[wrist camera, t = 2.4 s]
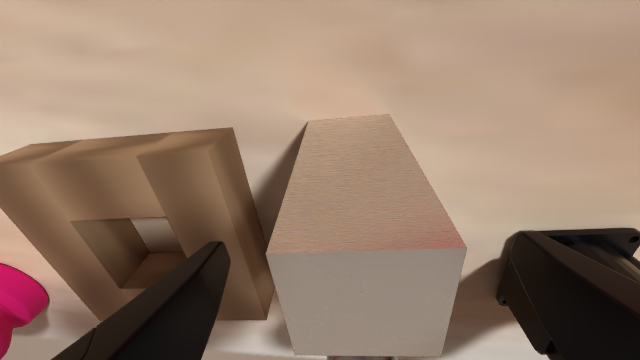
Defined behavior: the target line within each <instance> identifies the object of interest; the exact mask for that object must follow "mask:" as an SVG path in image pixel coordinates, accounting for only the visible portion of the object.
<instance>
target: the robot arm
mask: <svg viewBox="0 0 640 360" xmlns="http://www.w3.org/2000/svg"><path fill="white" fill-rule="evenodd" d="M639 246H640V232H639V231H638V230H636V229H635V228H621V229H592V230H564V231H532V230H531V231H519V232H517V233H516V235H515V238H514V241H513V244H512V247H511V249H510V258H509V261H508V264H507V267H506V270H505V272H504V275H503V278H502V281H501V284H500V286H499V289H498V292H497V295H496V299H497V301H498V303H499V304H500V305H502V306H509V308H510V310H511V311H512V313H513V315H514V316H515V318H516V319H517V321H518V323H519V324H520V326H521V328H522V329H523V331H524V333H525V334H526V336H527V338H528V339H529V341H530V343H531V344H532V346H533V347H534V349H535V350H536V351H537V352H538V353H539V354H541V355H547V356H548V358H549V359H550V360H640V261H638V260H637V259H636V258H634V257H633V254H634V253H635V251H636V250H637V248H638V247H639ZM230 265H231V260H230V256H229V253H228V251H227V248H226V246H225V243H224V242H223V241H210V242H208V243H207V244H206V245H204V246H203V247H202V248H200V249H199V250H198V251H196V252H195V253H194V254H192V255H191V256H190V257H188V258H187V259H186V260H184V261H183V262H182V263H180V264H179V265H178V266H176V267H175V268H173V269H172V270H171V271H169V272H168V273H167V274H165V275H164V276H163V277H161V278H160V279H159V280H157V281H156V282H155V283H153V284H152V285H151V286H149V287H148V288H147V289H145V290H144V291H143V292H141V293H140V294H139V295H137V296H136V297H135V298H133V299H132V300H131V301H129V302H128V303H127V304H125V305H124V306H123V307H121V308H120V309H119V310H117V311H116V312H115V313H113V314H112V315H111V316H109V317H108V318H107V319H105V320H104V321H103V322H101V323H100V324H99V325H97V327H96V328H93V329H92V330H90V331H89V332H88V333H86V334H85V335H84V336H82V337H81V338H80V339H78V340H77V341H76V342H74V343H73V344H72V345H70V346H69V347H67V348H66V349H65V350H63V351H62V352H61V353H60V354H58V355H57V356H55V357H54V358H52V359H51V360H201V358H202V355H203V353H204V350H205V347H206V344H207V342H208V339H209V336H210V333H211V331H212V328H213V325H214V323H215V320H216V317H217V314H218V311H219V308H220V304H221V301H222V297H223V293H224V289H225V285H226V281H227V277H228V273H229V269H230Z"/></svg>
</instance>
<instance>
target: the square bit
mask: <svg viewBox="0 0 640 360" xmlns="http://www.w3.org/2000/svg"><path fill="white" fill-rule="evenodd" d="M466 250H467V247H466V245H465V243H464V242H463V240H462V238H461V237H460V235H459V233H458V231H457V230H456V228H455V226H454V224H453V223H452V221H451V219H450V218H449V216H448V214H447V212H446V211H445V209H444V207H443V206H442V204H441V202H440V200H439V199H438V197H437V195H436V194H435V192H434V190H433V188H432V187H431V185H430V183H429V181H428V180H427V178H426V176H425V175H424V173H423V171H422V169H421V168H420V166H419V164H418V163H417V161H416V159H415V157H414V156H413V154H412V152H411V150H410V149H409V147H408V145H407V144H406V142H405V140H404V138H403V137H402V135H401V133H400V132H399V130H398V128H397V126H396V125H395V123H394V121H393V119H392V118H391V116H390V114H384V115H372V116H360V117H348V118H336V119H324V120H313V121H308V124H307V127H306V130H305V134H304V137H303V140H302V143H301V146H300V149H299V152H298V155H297V158H296V161H295V165H294V168H293V171H292V174H291V177H290V180H289V183H288V186H287V189H286V193H285V196H284V199H283V202H282V205H281V208H280V211H279V214H278V217H277V220H276V224H275V227H274V230H273V233H272V236H271V239H270V242H269V245H268V248H267V252H266V257H267V260H268V264H269V267H270V271H271V274H272V278H273V281H274V284H275V288H276V291H277V295H278V298H279V302H280V305H281V309H282V312H283V316H284V319H285V323H286V326H287V330H288V333H289V337H290V340H291V343H292V347H293V350H294V354H295V355H323V356H407V357H441V355H442V351H443V347H444V343H445V338H446V334H447V330H448V326H449V322H450V317H451V313H452V309H453V305H454V301H455V296H456V292H457V288H458V284H459V280H460V276H461V271H462V267H463V263H464V259H465V255H466Z"/></svg>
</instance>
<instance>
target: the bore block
mask: <svg viewBox="0 0 640 360" xmlns="http://www.w3.org/2000/svg"><path fill="white" fill-rule="evenodd" d="M0 208H1V209H2V210H3V211H4V212H5V214H6V215H7V216H8V217H9V218H10V219H11V220H12V222H13V223H14V224H15V225H16V226H17V227H18V228H19V229H20V231H21V232H22V233H23V234H24V235H25V236H26V237H27V239H28V240H29V241H30V242H31V243H32V244H33V245H34V247H35V248H36V249H37V250H38V251H39V252H40V253H41V254H42V256H43V257H44V258H45V259H46V260H47V261H48V262H49V264H50V265H51V266H52V267H53V268H54V269H55V270H56V272H57V273H58V274H59V275H60V276H61V277H62V278H63V279H64V281H65V282H66V283H67V284H68V285H69V286H70V287H71V289H72V290H73V291H74V292H75V293H76V294H77V295H78V297H79V298H80V299H81V300H82V301H83V302H84V303H85V304H86V306H87V307H88V308H89V309H90V310H91V311H92V312H93V314H94V315H95V316H96V317H97V318H98V319H99V320H100V321H104V320H105V319H107V318H108V317H109V316H111V315H112V314H113V313H115V312H116V311H117V310H119V309H120V308H121V307H123V306H124V305H125V304H127V303H128V302H129V301H131V300H132V299H133V298H135V297H136V296H137V295H139V294H140V293H141V292H143V291H144V290H145V289H147V288H148V287H149V286H151V285H152V284H153V283H155V282H156V281H157V280H159V279H160V278H161V277H163V276H164V275H165V274H167V273H168V272H169V271H171V270H172V269H173V268H175V267H176V266H178V265H179V264H180V263H182V262H183V261H184V260H186V259H187V258H188V257H190V256H191V255H192V254H194V253H195V252H196V251H198V250H199V249H200V248H202V247H203V246H204V245H206V244H207V243H208V242H210V241H223V242H224V243H225V246H226V248H227V251H228V253H229V256H230V260H231V265H230V269H229V273H228V277H227V281H226V285H225V289H224V293H223V297H222V301H221V304H220V308H219V311H218V314H217V317H216V320H267V316H268V312H269V308H270V304H271V300H272V296H273V292H274V288H275V284H274V281H273V278H272V274H271V271H270V267H269V264H268V260H267V257H266V252H267V248H266V244H265V241H264V237H263V234H262V230H261V227H260V223H259V219H258V216H257V212H256V209H255V205H254V202H253V198H252V195H251V191H250V187H249V184H248V180H247V177H246V173H245V170H244V166H243V163H242V159H241V155H240V152H239V148H238V145H237V141H236V138H235V134H234V131H233V127H232V128H220V129H208V130H196V131H184V132H172V133H161V134H149V135H137V136H125V137H113V138H101V139H89V140H77V141H65V142H54V143H42V144H31V145H28V146H26V147H23V148H20V149H18V150H15V151H12V152H10V153H7V154H5V155H2V156H0ZM164 216H166V217H167V219H168V221H169V223H170V225H171V227H172V229H173V231H174V233H175V235H176V237H177V239H178V241H179V243H180V245H181V247H182V249H183V251H184V252H169V253H150V252H149V251H148V249H147V247H146V246H145V244H144V242H143V241H142V239H141V237H140V236H139V234H138V232H137V231H136V229H135V227H134V225H133V224H132V222H131V220H130V219H129V218H143V217H164Z"/></svg>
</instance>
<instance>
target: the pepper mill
mask: <svg viewBox="0 0 640 360" xmlns="http://www.w3.org/2000/svg"><path fill="white" fill-rule="evenodd" d="M47 304H48V295H47V293H46V292H45V290H44V289H43V288H42V287H41V286H40V285H39V284H38V283H37V282H36V281H35V280H34V279H32V278H31V277H29V276H28V275H26V274H25V273H23V272H21V271H19V270H17V269H14V268H12V267H10V266H7V265H3V264H0V359H1V358H2V357H3V356H4V355H5V354H6V352H7V350H8V348H9V345H10V342H11V337H12V330H13V328H16V327H22V326H24V325H26V324H28V323H29V322H30V321H31V320H32V319H34V318H35V317H36V316H37V315H38V314H39V313H40V312H41V311H42V310H43V309H44V308H45V307H46V306H47Z"/></svg>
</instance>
